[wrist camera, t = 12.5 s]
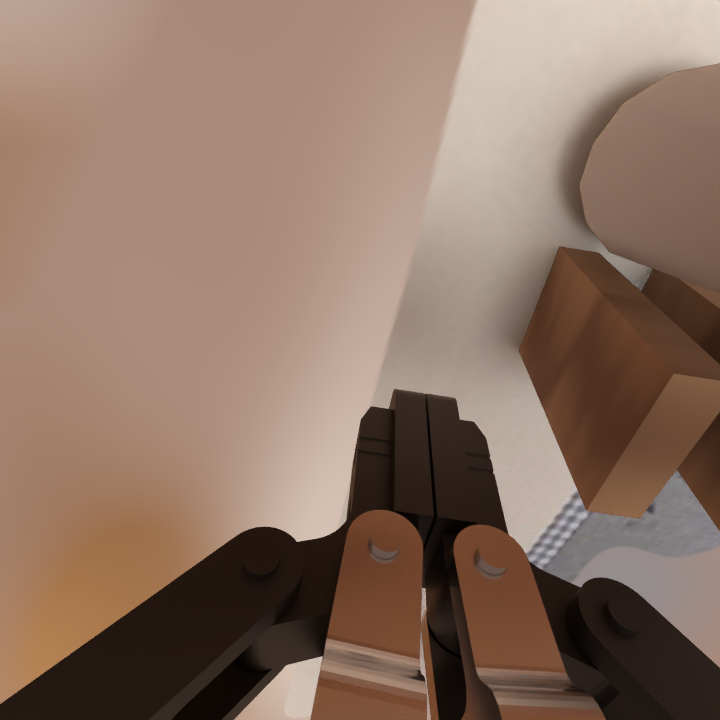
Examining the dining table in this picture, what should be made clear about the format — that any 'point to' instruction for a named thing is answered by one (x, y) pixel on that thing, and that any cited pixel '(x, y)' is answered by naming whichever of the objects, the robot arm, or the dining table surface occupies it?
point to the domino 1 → (616, 383)
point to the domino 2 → (715, 336)
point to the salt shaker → (661, 178)
